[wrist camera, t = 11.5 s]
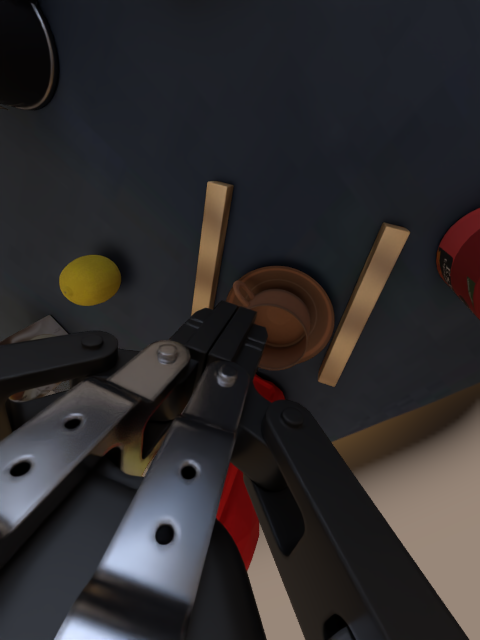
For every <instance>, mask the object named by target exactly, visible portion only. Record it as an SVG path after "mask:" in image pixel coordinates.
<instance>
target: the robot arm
mask: <svg viewBox="0 0 480 640" xmlns="http://www.w3.org/2000/svg"><path fill="white" fill-rule="evenodd" d="M57 77H58V60H57V53H56V47H55V43H54V39H53V36H52V33H51V31H50V28H49V26H48V23H47V21H46V19H45V17H44V15H43V14H42V12H41V10H40V9H39V7H38V3H37V0H0V104H3V105H7V106H12V107H16V108H19V109H25V110H37V109H40V108H42V107H43V106H45V105H46V104H47V103H48V102H49V100H50V99H51V97H52V96H53V93H54V91H55V88H56V84H57ZM0 108H1V109H6V108H4V107H1V106H0ZM7 110H9V109H7ZM256 316H257V312H256V311H253V310H250V309H247V308H244V307H241V306H240V307H239V306H238V305H235V304H232V303H229V302H226V301H223V300H222V301H221V302H220V303H219V304H218V305H217V306H216V308H215V309H214V310H212V309H209V308H203V309H201V310H198V311H196V312H195V313H194V314H193V315H192V316H191V317H190V319H188V320H187V321H186V322H185V324H183V325H182V326H181V327H180V329H179V330H178V331H177V332H176V333H175V334H174V335H173V336H172V337H171V338H170V339H169V340H162V341H156V342H153V343H151V344H150V345H148V346H147V347H146V348H145V349H143V350H142V351H133V350H124V349H118V341H117V339H116V338H115V337H114V336H113V335H111V334H109V333H107V332H103V331H85V332H79V333H73V334H67V335H61V336H54V337H48V338H42V339H36V340H30V341H24V342H17V343H11V344H5V345H0V640H267V639H266V635H265V632H264V629H263V625H262V622H261V618H260V615H259V611H258V608H257V605H256V601H255V598H254V594H253V591H252V587H251V584H250V580H249V577H248V574H247V570H246V567H245V564H244V561H243V559H242V557H241V554H240V552H239V550H238V547H237V546H236V544H235V542H234V540H233V538H232V537H231V535H230V534H229V532H228V531H227V530H226V528H225V527H224V526H223V525H222V523H221V522H220V521H219V520H218V519H217V518H216V515H217V511H218V507H219V503H220V499H221V495H222V492H223V488H224V484H225V480H226V476H227V472H228V468H229V464H230V462H231V463H232V464H233V465H234V466H236V467H237V468H238V469H239V470H240V471H242V472H243V480H244V484H245V486H246V489H247V491H248V494H249V497H250V499H251V502H252V504H253V507H254V509H255V512H256V514H257V517H258V520H259V522H260V525H261V527H262V530H263V532H264V535H265V537H266V540H267V543H268V545H269V548H270V550H271V553H272V555H273V558H274V561H275V563H276V566H277V568H278V571H279V573H280V576H281V578H282V581H283V583H284V586H285V588H286V591H287V594H288V596H289V598H290V601H291V604H292V607H293V609H294V612H295V614H296V617H297V619H298V622H299V624H300V627H301V629H302V632H303V635H304V637H305V640H469V639H468V637H467V636H466V634H465V633H464V631H463V630H462V628H461V627H460V626H459V624H458V623H457V621H456V620H455V618H454V617H453V616H452V614H451V613H450V611H449V610H448V608H447V607H446V606H445V604H444V603H443V601H442V600H441V598H440V597H439V596H438V595H437V593H436V591H435V590H434V588H433V587H432V586H431V584H430V583H429V582H428V580H427V579H426V577H425V576H424V574H423V573H422V571H421V570H420V569H419V567H418V566H417V564H416V563H415V562H414V560H413V558H412V557H411V556H410V554H409V553H408V552H407V550H406V548H405V547H404V546H403V544H402V543H401V541H400V540H399V539H398V537H397V536H396V534H395V533H394V531H393V530H392V529H391V527H390V526H389V524H388V523H387V521H386V520H385V518H384V517H383V516H382V514H381V513H380V511H379V510H378V508H377V507H376V506H375V505H374V503H373V501H372V500H371V498H370V497H369V496H368V494H367V493H366V491H365V490H364V488H363V487H362V486H361V484H360V483H359V482H358V480H357V479H356V477H355V476H354V474H353V473H352V471H351V470H350V468H349V467H348V466H347V464H346V463H345V461H344V460H343V458H342V457H341V456H340V454H339V453H338V451H337V450H336V448H335V447H334V446H333V444H332V443H331V441H330V440H329V438H328V437H327V436H326V434H325V433H324V431H323V430H322V428H321V427H320V426H319V424H318V423H317V421H316V420H315V419H314V417H313V416H312V414H311V413H310V412H309V411H308V410H307V409H306V408H305V407H303V406H302V405H300V404H298V403H296V402H294V401H290V400H277V401H274V402H272V403H271V402H270V401H268V400H267V399H265V398H264V397H263V396H261V395H260V394H259V392H258V391H257V390H256V388H255V387H254V384H253V379H254V377H255V374H256V371H257V369H258V366H259V363H260V360H261V357H262V354H263V350H264V347H265V344H266V341H267V338H268V334H267V330H266V327H263V326H260V325H257V324H254V323H255V320H256ZM67 380H69V385H70V390H67V391H63V392H59V393H55V394H52V395H48V396H44V397H40V398H36V399H32V400H29V401H25V402H14V401H12V400H10V399H9V397H10V396H12V395H13V394H15V393H18V392H22V391H26V390H30V389H34V388H38V387H42V386H46V385H50V384H54V383H59V382H63V381H67ZM186 405H187V406H186ZM185 407H186V408H185ZM184 408H185V410H184ZM183 410H184V412H183V414H182V415H181V413H182V411H183ZM155 454H156V455H155ZM154 456H155V457H154ZM153 457H154V459H153ZM152 459H153V461H152V463H151V465H150V467H149V469H148V471H147V473H146V475H145V477H142V475H143V473H144V470H145V469H146V467H147V466H148V464H149V463H150V461H151V460H152Z"/></svg>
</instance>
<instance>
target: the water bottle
mask: <svg viewBox="0 0 480 640" xmlns="http://www.w3.org/2000/svg"><path fill="white" fill-rule="evenodd" d="M253 384H254V387H255V388H256V390H257V391H258V392H259V394H260V395H261V396H263V397H264V398H265V399H267V400H268V401H270V402H271V403H272V402H274V401H277V400H285V398H284V395H283V392H282V391H281V390H280V389H279V388H278V387H277V386H276V385H274V384H273V383H272V382H270V381H267V380H264V379H262V378H261V377H259V376H258V375H257V374H255V377H254V379H253ZM216 518H217V519H218V520H219V521H220V522H221V523H222V525H223V526H224V527H225V528H226V530H227V531H228V532H229V534H230V535H231V537H232V538H233V540H234V542H235V544H236V546H237V547H238V550H239V552H240V554H241V557H242V559H243V561H244V564H245V567H246V570H248V568H249V565H250V563H251V560H252V557H253V554H254V551H255V548H256V544H257V541H258V538H259V520H258V517H257V514H256V512H255V509H254V507H253V504H252V502H251V499H250V497H249V494H248V491H247V489H246V486H245V484H244V480H243V472H242V471H240V470H239V469H238V468H237V467H236V466H234V465H233V464H232V463H231V462H230V464H229V468H228V472H227V476H226V480H225V484H224V488H223V492H222V495H221V499H220V503H219V507H218V511H217V515H216Z"/></svg>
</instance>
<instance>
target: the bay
mask: <svg viewBox="0 0 480 640" xmlns="http://www.w3.org/2000/svg"><path fill="white" fill-rule="evenodd" d="M233 187H234V185H231V184H227V183H223V182H218V181H210V182H208V184H207V192H206V200H205V208H204V217H203V225H202V233H201V241H200V249H199V258H198V266H197V274H196V282H195V291H194V299H193V307H192V315H193V314H194V313H195V312H196V311H198V310H201V309H203V308H209V309H212V310H213V308H214V302H215V296H216V290H217V284H218V278H219V272H220V266H221V260H222V254H223V248H224V242H225V236H226V230H227V223H228V217H229V211H230V205H231V199H232V193H233ZM409 234H410V232H409V231H408V230H407V229H406V228H404V227H400V226H396V225H392V224H388V223H384V222H383V224H382V226H381V228H380V231H379V233H378V235H377V238H376V240H375V242H374V244H373V247H372V249H371V251H370V254H369V256H368V258H367V261H366V263H365V265H364V268H363V270H362V272H361V274H360V277H359V279H358V281H357V284H356V286H355V288H354V291H353V293H352V295H351V298H350V300H349V302H348V304H347V307H346V309H345V311H344V314H343V316H342V318H341V321H340V323H339V325H338V327H337V330H336V332H335V334H334V337H333V339H332V341H331V344H330V346H329V348H328V351H327V353H326V355H325V357H324V360H323V362H322V364H321V367H320V369H319V372H318V382H321V383H324V384H327V385H330V386H333V387H335V385H336V383H337V381H338V379H339V377H340V375H341V373H342V371H343V369H344V367H345V365H346V363H347V361H348V359H349V356H350V354H351V352H352V350H353V348H354V346H355V344H356V342H357V340H358V338H359V336H360V334H361V332H362V330H363V328H364V326H365V324H366V322H367V320H368V318H369V316H370V314H371V311H372V309H373V307H374V305H375V303H376V301H377V299H378V297H379V295H380V293H381V291H382V289H383V287H384V285H385V283H386V281H387V279H388V277H389V275H390V273H391V271H392V269H393V266H394V264H395V262H396V260H397V258H398V256H399V254H400V252H401V250H402V248H403V246H404V244H405V242H406V240H407V238H408V236H409ZM192 315H191V316H192Z"/></svg>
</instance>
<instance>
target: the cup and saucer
mask: <svg viewBox="0 0 480 640" xmlns="http://www.w3.org/2000/svg"><path fill="white" fill-rule="evenodd" d="M226 302H229V303H232V304H235V305H238V306H239V307H240V306H241V307H244V308H247V309H250V310H253V311H256V312H257V316H256V320H255V323H254V324H257V325H260V326H263V327H266V330H267V334H268V338H267V341H266V344H265V347H264V350H263V354H262V357H261V360H260V363H259V366H258V367H260V368H263V369H267V370H283V369H287V368H290V367H292V366H294V365H295V364H298V363H301V362H304V361H307V360H309V359H311V358H313V357H314V356H316V355H317V354H318V353H319V352H321V351H322V350H323V349H324V347H325V346H326V345H327V343H328V342H329V340H330V338H331V335H332V333H333V329H334V311H333V306H332V304H331V301H330V299H329V297H328V295H327V293H326V292H325V290H324V289H323V288H322V287H321V286H320V284H319V283H318V282H316V281H315V280H314V279H313V278H312V277H310V276H309V275H307V274H305V273H303V272H301V271H299V270H296V269H293V268H290V267H284V266H268V267H262V268H258V269H256V270H253V271H251V272H249V273H247V274H246V275H244V276H243V277H241V278H240V279H239V280H238V281H235V282H234V284H233V287H232V288H231V290H230V292H229V294H228V296H227V299H226Z"/></svg>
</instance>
